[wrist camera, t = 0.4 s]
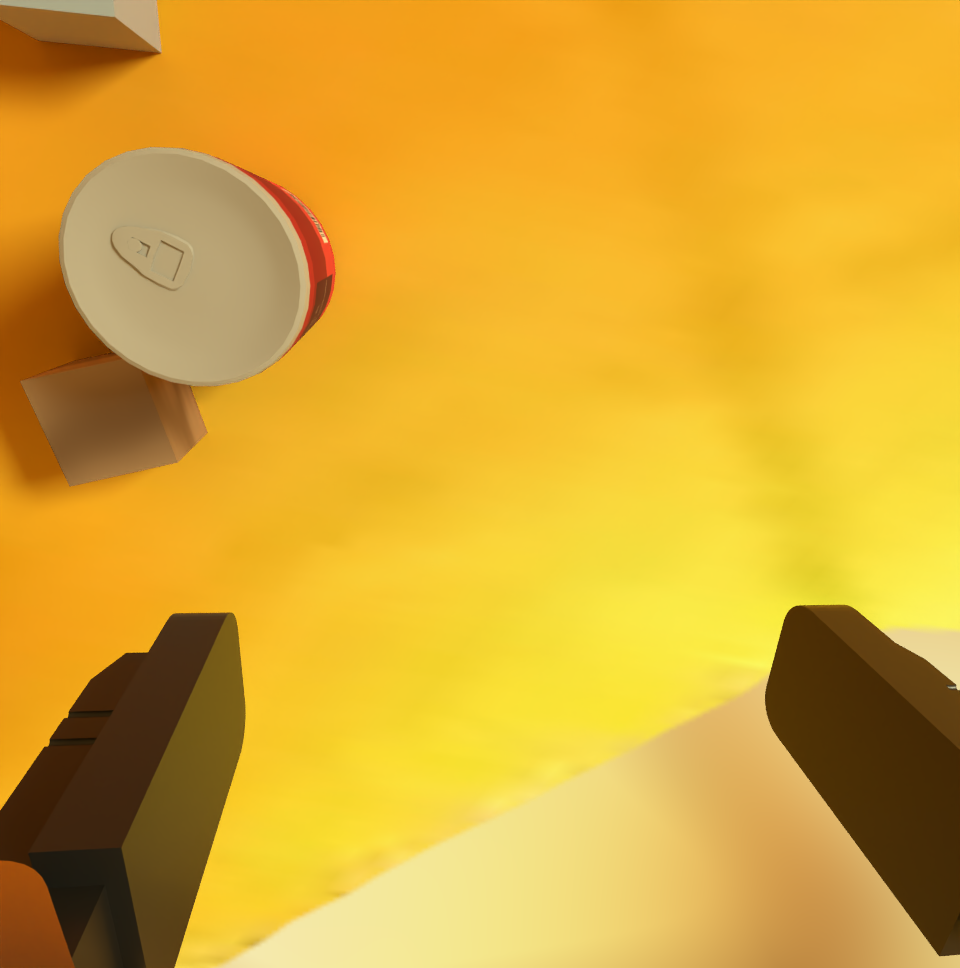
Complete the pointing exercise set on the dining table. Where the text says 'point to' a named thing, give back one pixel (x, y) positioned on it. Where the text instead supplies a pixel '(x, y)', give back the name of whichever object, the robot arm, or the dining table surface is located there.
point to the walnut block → (113, 418)
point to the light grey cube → (87, 22)
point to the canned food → (193, 265)
